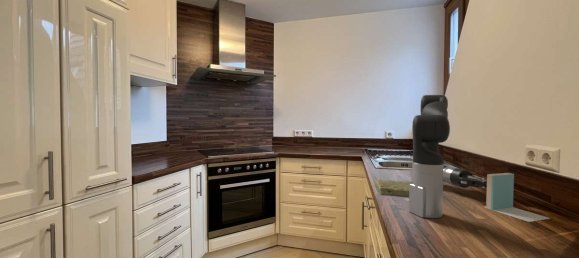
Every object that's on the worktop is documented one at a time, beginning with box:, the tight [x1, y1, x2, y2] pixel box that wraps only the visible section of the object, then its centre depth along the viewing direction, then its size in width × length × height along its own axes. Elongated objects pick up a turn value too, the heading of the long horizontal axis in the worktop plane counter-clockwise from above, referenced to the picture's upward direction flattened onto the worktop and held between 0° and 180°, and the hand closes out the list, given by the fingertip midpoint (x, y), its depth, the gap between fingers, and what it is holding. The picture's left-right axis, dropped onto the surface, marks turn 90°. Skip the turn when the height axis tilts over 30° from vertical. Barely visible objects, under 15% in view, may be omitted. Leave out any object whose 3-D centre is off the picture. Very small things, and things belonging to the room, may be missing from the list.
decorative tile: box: [374, 179, 412, 198], centre depth 117 cm, size 19×20×4 cm
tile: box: [485, 172, 515, 211], centre depth 94 cm, size 10×2×12 cm, turn 107°
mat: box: [483, 206, 551, 223], centre depth 89 cm, size 10×14×1 cm
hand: (496, 186), depth 95 cm, fingers closed
